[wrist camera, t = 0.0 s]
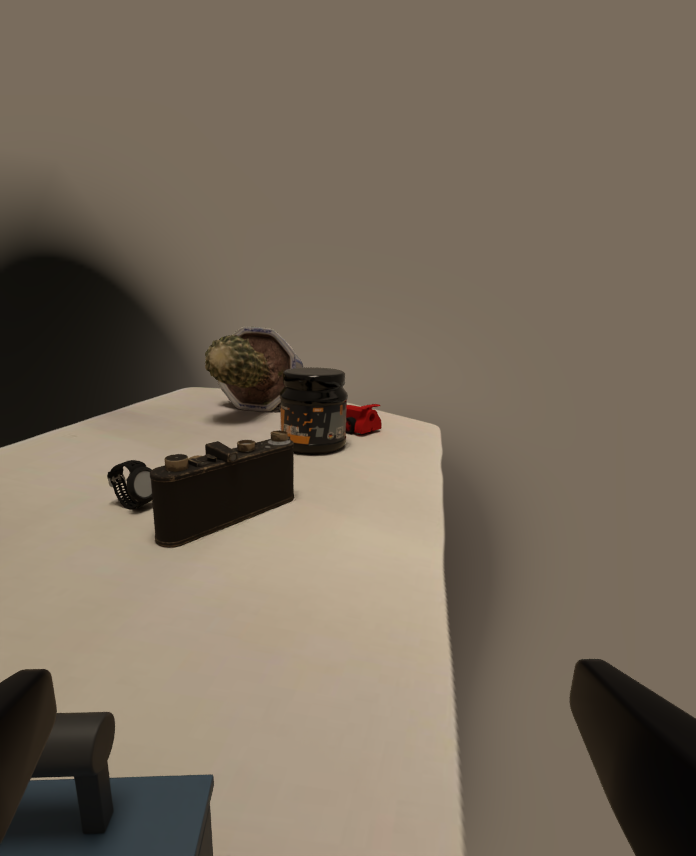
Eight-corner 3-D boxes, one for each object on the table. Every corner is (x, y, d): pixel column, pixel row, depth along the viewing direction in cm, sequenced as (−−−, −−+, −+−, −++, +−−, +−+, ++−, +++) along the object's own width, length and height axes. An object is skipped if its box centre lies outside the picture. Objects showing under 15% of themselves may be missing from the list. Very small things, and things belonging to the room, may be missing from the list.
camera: (264, 484, 58) (263, 422, 56) (302, 499, 54) (302, 432, 52) (133, 529, 45) (126, 451, 43) (170, 552, 41) (163, 467, 39)
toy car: (314, 414, 96) (314, 390, 94) (381, 431, 84) (383, 404, 83) (292, 419, 91) (292, 394, 90) (360, 437, 80) (361, 408, 79)
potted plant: (244, 335, 111) (176, 302, 81) (316, 342, 108) (273, 310, 78) (236, 408, 111) (164, 401, 82) (307, 417, 108) (260, 413, 79)
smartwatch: (125, 518, 48) (121, 472, 46) (107, 502, 51) (103, 459, 50) (164, 507, 50) (161, 463, 49) (145, 493, 54) (141, 452, 53)
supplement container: (267, 444, 74) (265, 369, 71) (318, 433, 81) (319, 365, 78) (307, 460, 67) (307, 378, 64) (359, 447, 74) (362, 373, 71)
